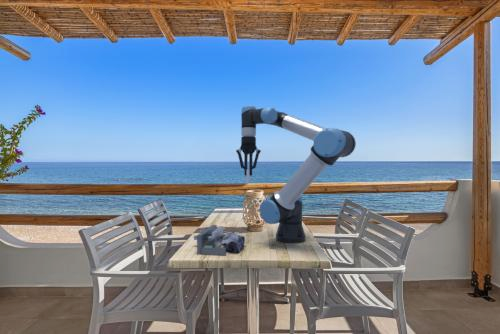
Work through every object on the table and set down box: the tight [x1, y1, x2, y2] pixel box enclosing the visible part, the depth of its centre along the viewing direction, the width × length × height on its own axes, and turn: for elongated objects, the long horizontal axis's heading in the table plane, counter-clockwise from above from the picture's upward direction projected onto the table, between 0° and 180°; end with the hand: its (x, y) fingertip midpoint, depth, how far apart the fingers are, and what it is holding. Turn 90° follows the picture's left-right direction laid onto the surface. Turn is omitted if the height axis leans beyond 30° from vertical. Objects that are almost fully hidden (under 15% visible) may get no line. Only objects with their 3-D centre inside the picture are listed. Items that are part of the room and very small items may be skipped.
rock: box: [221, 231, 246, 253], centre depth 132 cm, size 14×10×10 cm
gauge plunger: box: [193, 226, 225, 247], centre depth 136 cm, size 12×21×8 cm, turn 170°
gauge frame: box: [196, 224, 227, 257], centre depth 135 cm, size 12×23×8 cm, turn 170°
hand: (248, 182), depth 151 cm, fingers closed
